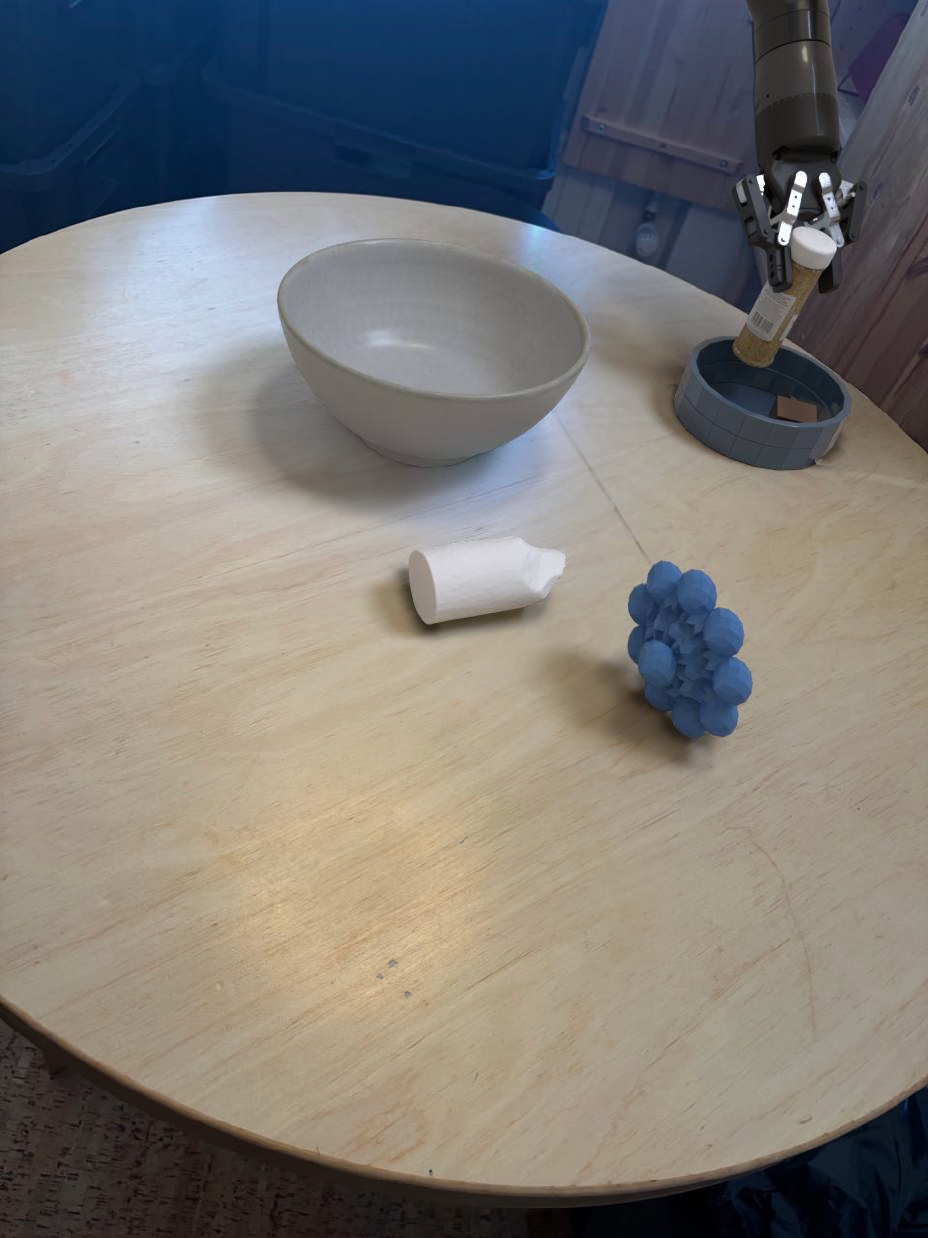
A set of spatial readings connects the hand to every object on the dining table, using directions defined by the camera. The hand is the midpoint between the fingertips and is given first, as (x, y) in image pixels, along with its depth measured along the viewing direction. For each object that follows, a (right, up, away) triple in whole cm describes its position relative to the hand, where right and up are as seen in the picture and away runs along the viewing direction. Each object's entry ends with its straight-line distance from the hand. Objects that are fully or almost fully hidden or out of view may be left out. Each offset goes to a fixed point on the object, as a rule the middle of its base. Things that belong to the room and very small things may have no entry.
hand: (806, 290), depth 91 cm
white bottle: (-31, -30, -17) cm, 46 cm away
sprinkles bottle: (-3, -4, +8) cm, 10 cm away
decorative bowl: (-37, -14, -2) cm, 39 cm away
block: (-1, -14, +6) cm, 15 cm away
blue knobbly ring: (-19, -38, -22) cm, 48 cm away
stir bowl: (-3, -11, +8) cm, 14 cm away
